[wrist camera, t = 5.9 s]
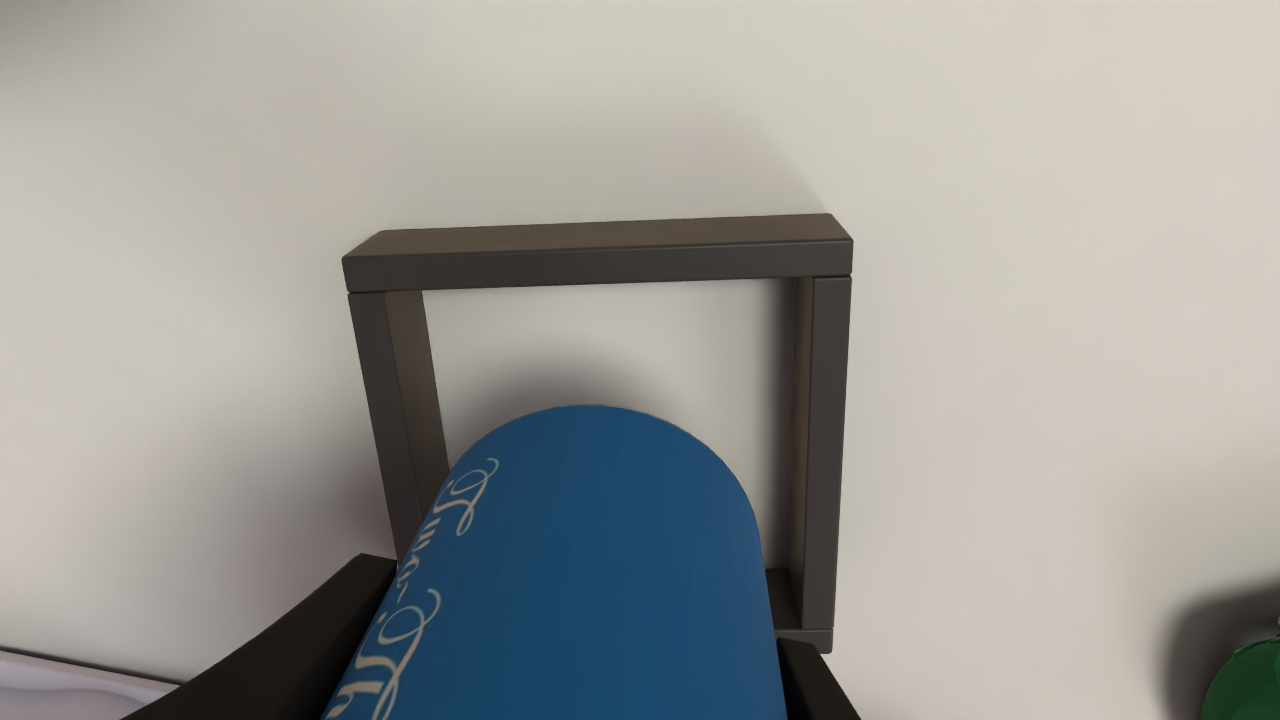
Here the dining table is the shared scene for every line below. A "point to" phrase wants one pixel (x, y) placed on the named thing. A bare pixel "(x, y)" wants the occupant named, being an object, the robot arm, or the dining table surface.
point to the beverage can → (576, 585)
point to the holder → (614, 254)
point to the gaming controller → (1247, 684)
